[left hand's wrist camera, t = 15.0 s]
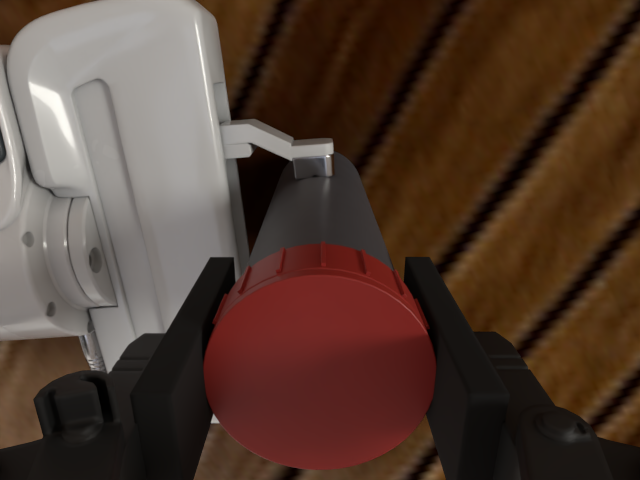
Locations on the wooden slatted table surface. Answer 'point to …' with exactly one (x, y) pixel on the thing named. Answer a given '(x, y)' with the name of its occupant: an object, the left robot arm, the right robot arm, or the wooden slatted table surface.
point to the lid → (319, 358)
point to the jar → (320, 214)
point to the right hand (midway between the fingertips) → (338, 223)
